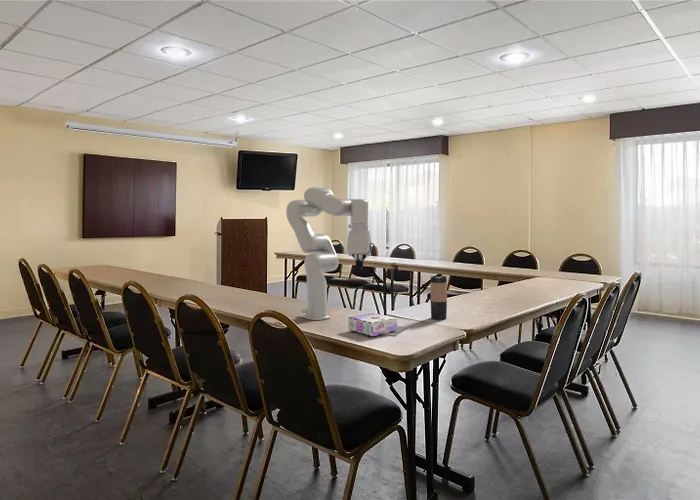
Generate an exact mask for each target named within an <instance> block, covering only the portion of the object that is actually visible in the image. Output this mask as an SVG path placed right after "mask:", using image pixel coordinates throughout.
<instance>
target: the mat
mask: <svg viewBox="0 0 700 500" xmlns="http://www.w3.org/2000/svg"><path fill="white" fill-rule="evenodd" d="M408 328H409V326H406V325H397V331H394V332H390V333H385V334H380V335H381V336H388V337H389V336H391V337H396V336H397V335H399V334H401V333H403V332H404V331H405V330H407V329H408ZM357 333H359V332H357ZM359 334H360V333H359ZM380 335H379V336H380Z"/></svg>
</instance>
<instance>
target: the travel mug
mask: <svg viewBox="0 0 700 500" xmlns="http://www.w3.org/2000/svg"><path fill="white" fill-rule="evenodd" d="M447 280H448V279H447V276H446V275H445V276H444V275H434V276H433V275H432V276H431V277H430V316H431V317H430V318H431V320H434V321H435V320H436V321H444V320H447V313H448V312H447V310H448V291H447V290H448V287H447V286H448V284H447V283H448V281H447Z"/></svg>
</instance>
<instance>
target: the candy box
mask: <svg viewBox="0 0 700 500" xmlns="http://www.w3.org/2000/svg"><path fill="white" fill-rule="evenodd" d="M397 323H398V321H397V317H393V316H388V315H384V314H378V313H373V312H372V313H365V314H359V315H354V316H348V330H349V331H352V332H356V333H358V332H359V334H364V335H367V336H370V337H374V336H375V337H376V336H380V334H385V333H390V332H394V331H397V326H398V324H397Z"/></svg>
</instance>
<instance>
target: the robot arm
mask: <svg viewBox="0 0 700 500" xmlns="http://www.w3.org/2000/svg"><path fill="white" fill-rule="evenodd" d="M285 209H286V211H285V212H286V218H287V221H288V223H289V226H291V228H292V230H293V231H294V235H295V237H296V240H297V242H298V244H299V246H300V248H301V251H302V252H303V253H304V254H308V255H307V256H306V257H305V258H304V261H303V264H304V269H305V274H306V290H307V291H306V298H307V307H306V308H301V309H300V310H301V313H302V314H304V319H306V320H310V321H323V320H327V319H330V318H331V314H330V313H328V298H327V297H328V294H327V293H328V292H327V291H328V288H327V279H326V277H325V275H324V273H325V272H326V273H328V272H333V271H335V270H337V269H338V267H339V263H340V262H339V257H338V255H337V252H336V250H335V248H334V245H333V243H332V240H331V239H330V237H329V236H328V235H327V234H324V233H315V232H314V231H313V229H312V225H310V223H309V222H308V221H307V219H305V218H307V217H308V218H309V217H311V218H313V217H317V216H320V215H321V213H322V212H323V213H325V214H326V213H327V214H328V215H332V216H335V217H341V216H343V217H346V216H347V217H350V224H348V229H350V230H348V234H347V240H346V241H347V243H346V252H347V255H348V256H349V257H352V258H353V259H354V261H355V269H356V270H360V271H361V270H363V269H364V261H365V260H366V258H367V257H372V238H371V237H372V236H371V231H370V230H369V201H368V200H367V199H363V198H336V196H335V194H334V193H333V192H332V190H331V189H330V188H329V187H328V188H327V187H321V186H320V187H316V186H312V187H309V188H307V189H306V190H305V191H304V193H303V199H294V200H291V201H289V202H288V204H287V206H286V208H285Z"/></svg>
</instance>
